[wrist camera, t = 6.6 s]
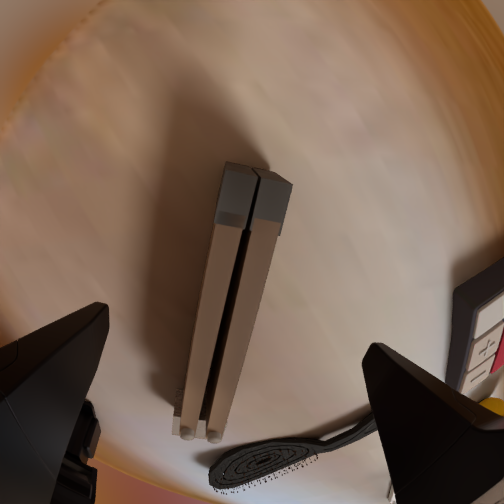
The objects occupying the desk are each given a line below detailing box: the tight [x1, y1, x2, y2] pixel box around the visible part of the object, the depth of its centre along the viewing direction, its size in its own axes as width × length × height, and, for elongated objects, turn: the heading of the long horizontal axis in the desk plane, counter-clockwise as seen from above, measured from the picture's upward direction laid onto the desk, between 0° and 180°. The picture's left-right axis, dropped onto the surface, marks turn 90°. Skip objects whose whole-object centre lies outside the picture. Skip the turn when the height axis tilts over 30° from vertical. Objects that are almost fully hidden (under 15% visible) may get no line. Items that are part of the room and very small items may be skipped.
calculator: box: [445, 257, 504, 394], centre depth 23 cm, size 11×4×15 cm
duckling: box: [478, 397, 504, 416], centre depth 28 cm, size 11×5×10 cm, turn 103°
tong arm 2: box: [179, 162, 258, 440], centre depth 17 cm, size 1×19×6 cm, turn 166°
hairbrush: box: [208, 413, 378, 495], centre depth 28 cm, size 8×4×25 cm
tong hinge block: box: [172, 389, 227, 441], centre depth 23 cm, size 4×3×3 cm
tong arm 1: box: [205, 167, 293, 444], centre depth 18 cm, size 1×19×6 cm, turn 167°
